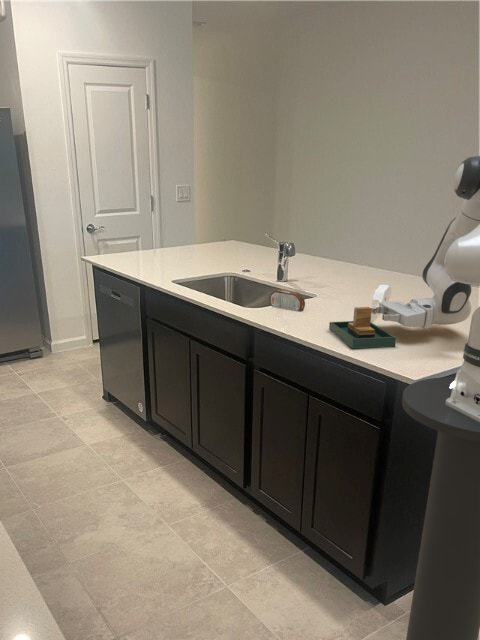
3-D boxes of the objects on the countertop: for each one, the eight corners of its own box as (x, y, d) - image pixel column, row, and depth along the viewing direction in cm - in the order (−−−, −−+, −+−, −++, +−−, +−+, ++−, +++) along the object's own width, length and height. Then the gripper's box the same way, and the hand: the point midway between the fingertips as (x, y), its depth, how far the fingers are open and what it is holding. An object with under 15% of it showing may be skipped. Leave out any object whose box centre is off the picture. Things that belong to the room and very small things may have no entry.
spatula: (352, 335, 188) (364, 336, 186) (353, 313, 185) (365, 314, 183) (379, 301, 217) (389, 302, 215) (381, 281, 213) (391, 282, 211)
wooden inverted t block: (374, 338, 173) (377, 311, 170) (359, 339, 173) (361, 311, 170) (361, 330, 183) (364, 304, 179) (347, 331, 182) (349, 304, 179)
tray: (395, 346, 168) (396, 337, 167) (352, 348, 167) (353, 339, 166) (367, 328, 189) (368, 320, 188) (328, 330, 187) (329, 322, 186)
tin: (304, 314, 210) (306, 292, 207) (300, 316, 208) (301, 294, 205) (272, 308, 220) (273, 287, 217) (268, 309, 218) (268, 289, 214)
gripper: (404, 296, 185) (365, 297, 184) (435, 309, 166) (391, 311, 165) (402, 314, 188) (363, 316, 187) (432, 329, 169) (389, 331, 167)
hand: (376, 314), depth 176 cm, fingers open, 8 cm apart
